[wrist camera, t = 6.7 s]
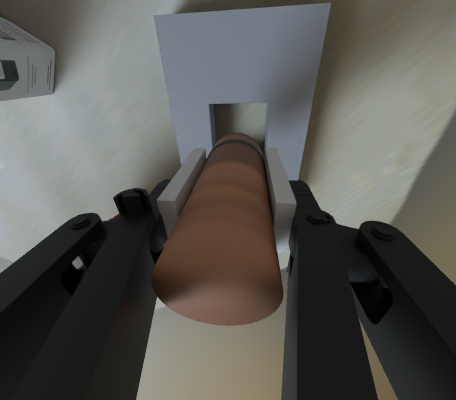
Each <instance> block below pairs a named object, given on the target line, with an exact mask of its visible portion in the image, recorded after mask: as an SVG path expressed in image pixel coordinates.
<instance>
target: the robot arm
mask: <svg viewBox="0 0 456 400" xmlns="http://www.w3.org/2000/svg"><path fill="white" fill-rule="evenodd" d="M206 160H207V159H206V149H205V148H194V150H193V151H192V153H191V154H190V155H189V157H188V158H187V159H186V161H185V162H184V163H183V165H182V166H181V168H180V169H179V170H178V172H177V173H176V174H175V176H174V177H173V179H172V180H169V179H165V180H164V181H162V182H160V183H159V184H158V185H157V186H156V187H155V188H154V190H153V191H152V192H151V194H149V195H148V192H147V191H146V190H145V189H141V188H134V189H128V190H125V191H122V192H120V193H119V194H117V195H116V196H115V197H114V198H113V199H114V201H115V204H116V206H117V208H118V211H119V213H120V216H119V217H118V219H114V220H108V221H102V220H101V218H100V216H99V215H98V214H95V213H85V214H81V215H78V216H76V217H74V218H72V219H70V220H69V221H67V222H66V223H64V224H63V225H62V226H60V227H59V228H58V229H57V230H55V231H54V232H53V233H51V234H50V235H49V236H48V237H46V238H45V239H44V240H42V241H41V242H40V243H39V244H37V245H36V246H35V247H34V248H32V249H31V250H30V251H28V252H27V253H26V254H25V255H23V256H22V257H21V258H19V259H18V260H17V261H16V262H14V263H13V264H12V265H10V266H9V267H8V268H7V269H6V270H4V271H3V272H1V273H0V400H136V397H137V392H138V387H139V382H140V377H141V372H142V368H143V363H144V358H145V353H146V348H147V343H148V338H149V333H150V328H151V323H152V318H153V314H154V309H155V304H156V299H157V295H156V294H155V292H154V290H153V288H152V284H151V274H152V271H153V269H154V267H155V265H156V263H157V261H158V259H159V257H160V255H161V252H162V250H163V248H164V245H165V243H166V241H167V239H168V238H169V236H170V234H171V232H172V230H173V228H174V226H175V224H176V222H177V220H178V218H179V216H180V214H181V212H182V210H183V208H184V206H185V204H186V202H187V200H188V198H189V196H190V193H191V191H192V189H193V187H194V185H195V183H196V181H197V179H198V177H199V175H200V173H201V171H202V169H203V167H204V165H205V163H206ZM264 164H265V176H266V182H267V189H268V195H269V202H270V208H271V215H272V221H273V228H274V234H275V241H276V247H277V253H287V252H288V246H289V248H290V252H291V253H290V258H289V263H288V267H287V272H288V288H287V305H286V323H285V342H284V359H283V360H284V361H283V378H282V397H281V400H378V398H377V393H376V389H375V385H374V381H373V376H372V372H371V368H370V364H369V360H368V356H367V351H366V347H365V343H364V339H363V335H362V330H361V326H360V322H359V319H360V321H361V323H362V325H363V327H364V329H365V331H366V333H367V336H368V338H369V340H370V342H371V344H372V346H373V348H374V350H375V352H376V354H377V356H378V359H379V361H380V362H381V365H382V367H383V369H384V371H385V373H386V375H387V377H388V379H389V382H390V384H391V386H392V388H393V389H394V392H395V394H396V396H397V398H398V400H456V285H455V284H454V283H453V282H452V281H451V280H450V279H448V277H446V275H445V274H444V273H443V272H441V271H440V269H438V268H437V266H436V265H435V264H434V263H433V262H431V261H430V260H429V259H428V258H427V257H426V256H425V255H424V254H423V253H422V252H421V251H420V250H419V249H418V248H417V247H416V246H415V245H414V244H413V243H412V242H411V241H410V240H409V239H408V238H407V237H406V236H405V235H404V234H403V233H402V232H401V231H399V230H398V229H397V228H395V227H393V226H391V225H389V224H386V223H383V222H379V221H365V222H364V223H362V224H361V226H360V228H359V229H355V228H351V227H347V226H343V225H339V224H337V223H336V222H335V220H334V218H333V217H332V216H331V215H330V214H329V213H327V212H325V211H323V210H321V209H320V207H319V205H318V204H317V202H316V200H315V198H314V196H313V194H312V192H311V190H310V188H309V186H308V185H307V184H306V183H304V182H303V181H302V180H288V178H287V175H286V172H285V169H284V167H283V164H282V161H281V158H280V156H279V153H278V150H277V148H265V157H264ZM77 257H79V258H80V260H81V261H82V263H83V265H82V266H81V267H80V268H78V269H76V268H75V266H74V265H73V264H72V262H73V261H74V260H75V259H76V258H77ZM358 317H359V318H358Z"/></svg>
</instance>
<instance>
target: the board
mask: <svg viewBox="0 0 456 400" xmlns="http://www.w3.org/2000/svg"><path fill="white" fill-rule="evenodd" d="M330 7H331V3H319V4H305V5H291V6H278V7H264V8H250V9H237V10H223V11H209V12H196V13H182V14H168V15H155V16H154V21H155V26H156V32H157V37H158V43H159V48H160V53H161V59H162V64H163V70H164V75H165V81H166V86H167V91H168V97H169V102H170V108H171V113H172V118H173V124H174V129H175V135H176V140H177V146H178V151H179V156H180V162H181V166H182V165H183V163H184V162H185V161H186V159H187V158H188V157H189V155H190V154H191V153H192V151H193V150H194V148H205V149H206V159H207V157H208V155H209V153H210V152H211V150H212V149H213V147H214V145H215V143H216V127H215V113H214V104H227V103H265V102H267V113H266V127H265V142H264V151H262V156H263V159H264V157H265V148H277V150H278V153H279V156H280V158H281V161H282V164H283V167H284V169H285V172H286V175H287V178H288V180H298V178H299V172H300V167H301V162H302V156H303V151H304V146H305V140H306V135H307V130H308V124H309V119H310V114H311V109H312V103H313V98H314V93H315V87H316V82H317V77H318V71H319V66H320V61H321V55H322V50H323V45H324V39H325V34H326V29H327V23H328V18H329V13H330Z"/></svg>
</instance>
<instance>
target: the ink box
mask: <svg viewBox="0 0 456 400" xmlns="http://www.w3.org/2000/svg"><path fill="white" fill-rule="evenodd" d="M55 55H56V54H55V50H54V49H53V48H52V47H51V46H49V45H47V44H46V43H44V42H42V41H41V40H39V39H38V38H36V37H34V36H33V35H31V34H29V33H28V32H26V31H25V30H23V29H21V28H20V27H18V26H17V25H15V24H13V23H12V22H10V21H8V20H7V19H5V18H4V17H2V16H0V101H6V100H14V99H21V98H29V97H36V96H43V95H51V94H53V85H54V70H55Z"/></svg>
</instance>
